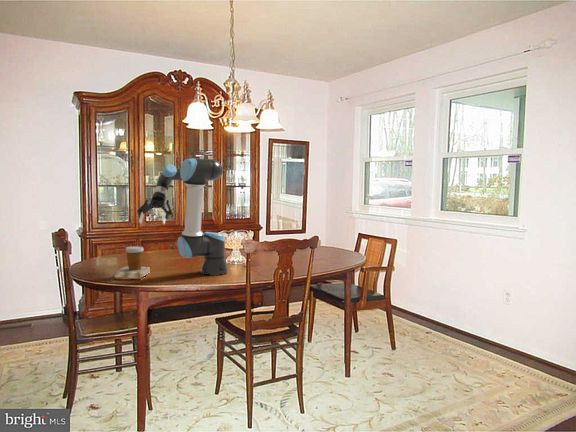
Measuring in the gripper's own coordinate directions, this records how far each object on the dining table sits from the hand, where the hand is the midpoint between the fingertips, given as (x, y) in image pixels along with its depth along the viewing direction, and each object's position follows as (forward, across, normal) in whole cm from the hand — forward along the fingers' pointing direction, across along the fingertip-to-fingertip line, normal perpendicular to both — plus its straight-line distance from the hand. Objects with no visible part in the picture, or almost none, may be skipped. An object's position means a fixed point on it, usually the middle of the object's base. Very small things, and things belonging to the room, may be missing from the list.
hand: (151, 222), depth 245 cm
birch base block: (+30, +6, -10) cm, 32 cm away
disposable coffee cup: (+28, +4, -6) cm, 29 cm away
